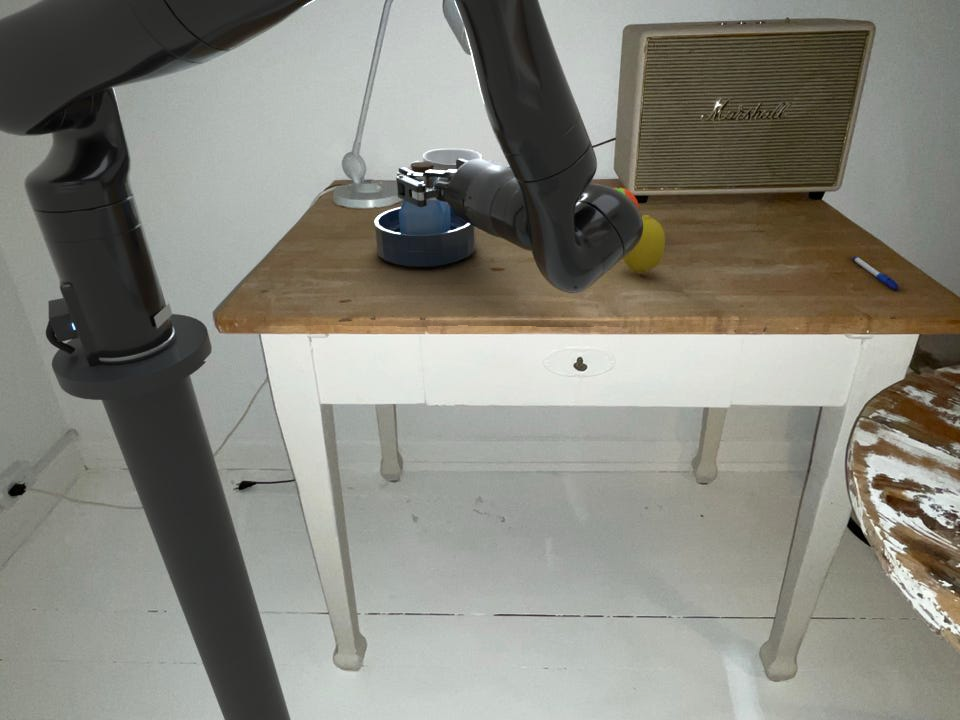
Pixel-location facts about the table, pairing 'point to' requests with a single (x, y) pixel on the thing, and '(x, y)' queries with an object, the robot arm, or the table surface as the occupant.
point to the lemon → (647, 247)
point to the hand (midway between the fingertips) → (430, 170)
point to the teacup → (447, 158)
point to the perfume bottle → (424, 211)
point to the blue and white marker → (877, 274)
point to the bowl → (423, 242)
